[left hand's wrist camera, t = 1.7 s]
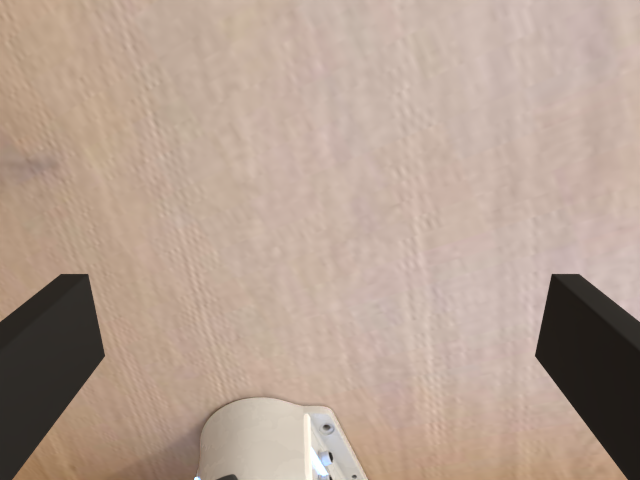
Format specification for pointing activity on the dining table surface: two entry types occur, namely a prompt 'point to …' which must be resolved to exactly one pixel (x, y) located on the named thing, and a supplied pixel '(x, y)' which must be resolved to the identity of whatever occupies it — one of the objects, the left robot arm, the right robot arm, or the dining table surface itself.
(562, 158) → the dining table surface
